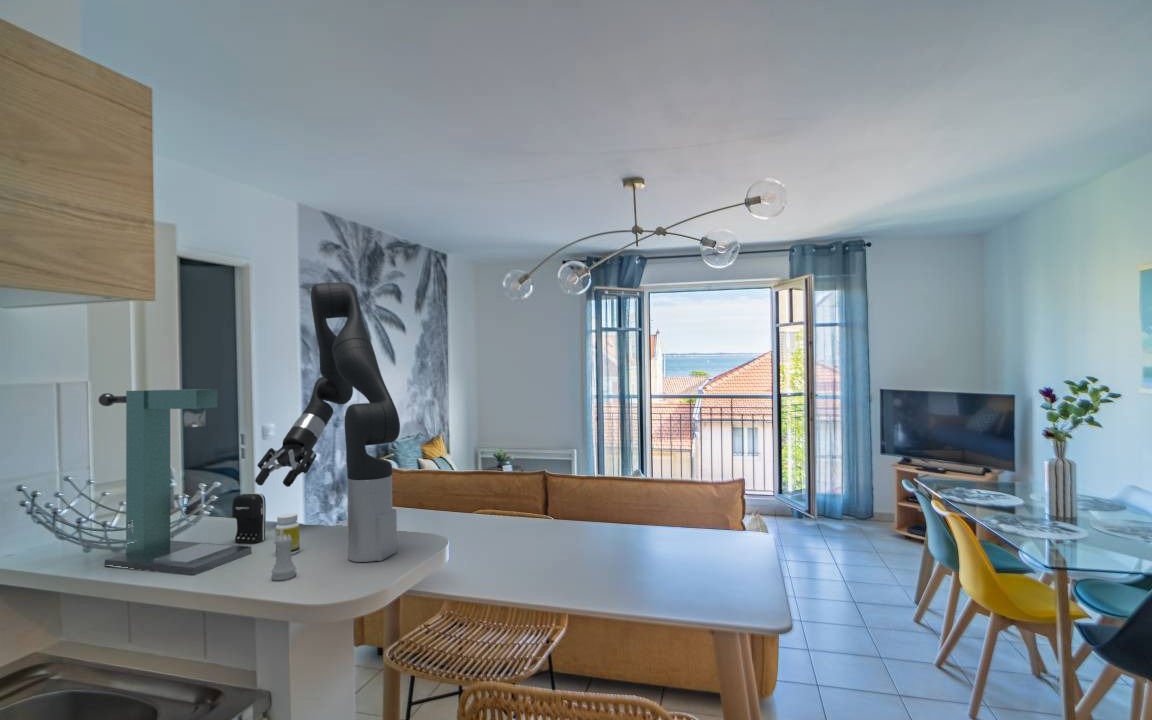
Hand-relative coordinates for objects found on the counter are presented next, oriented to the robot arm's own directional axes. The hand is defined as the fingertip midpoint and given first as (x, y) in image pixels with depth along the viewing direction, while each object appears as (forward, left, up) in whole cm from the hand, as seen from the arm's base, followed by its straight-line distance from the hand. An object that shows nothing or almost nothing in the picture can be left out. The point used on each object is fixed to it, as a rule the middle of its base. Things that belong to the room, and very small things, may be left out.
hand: (271, 484), depth 141 cm
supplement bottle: (-16, +12, -13) cm, 24 cm away
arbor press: (+10, +21, -12) cm, 26 cm away
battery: (0, +7, -13) cm, 15 cm away
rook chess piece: (-27, +25, -13) cm, 39 cm away
